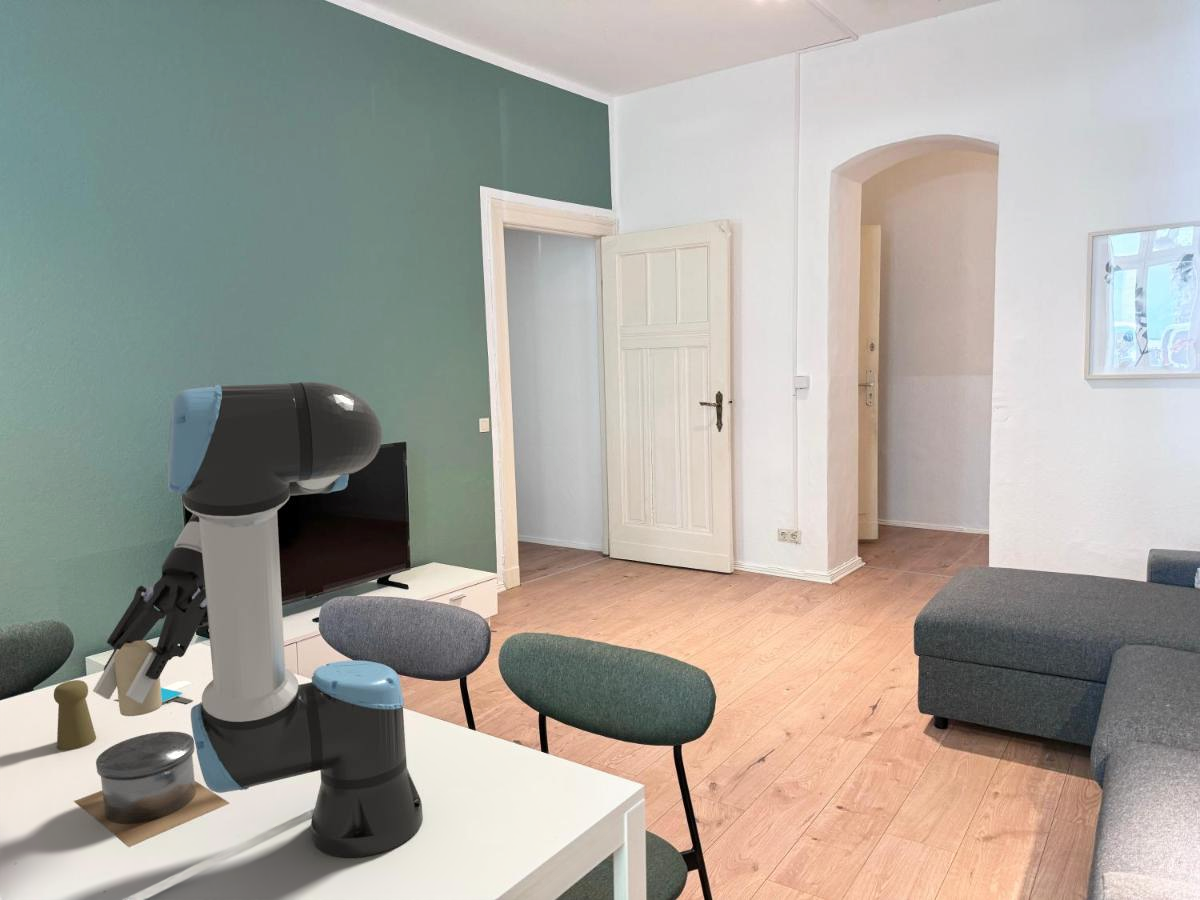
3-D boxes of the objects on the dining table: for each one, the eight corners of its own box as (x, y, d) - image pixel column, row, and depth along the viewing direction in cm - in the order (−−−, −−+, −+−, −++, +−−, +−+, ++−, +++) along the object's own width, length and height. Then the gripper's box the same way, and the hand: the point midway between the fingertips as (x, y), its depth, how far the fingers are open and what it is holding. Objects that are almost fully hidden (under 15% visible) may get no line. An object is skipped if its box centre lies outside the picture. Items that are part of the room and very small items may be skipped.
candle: (144, 717, 123) (137, 649, 122) (111, 716, 125) (103, 648, 123) (170, 702, 129) (164, 637, 128) (138, 700, 130) (131, 636, 129)
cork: (67, 753, 149) (60, 692, 148) (49, 745, 152) (42, 685, 151) (103, 739, 154) (96, 679, 153) (85, 732, 157) (78, 674, 156)
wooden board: (230, 812, 127) (229, 802, 127) (130, 857, 117) (129, 846, 116) (170, 773, 140) (169, 764, 140) (75, 810, 129) (74, 800, 129)
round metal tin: (214, 797, 129) (209, 746, 128) (123, 835, 119) (117, 780, 118) (175, 772, 137) (171, 724, 136) (87, 806, 127) (81, 755, 126)
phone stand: (219, 692, 175) (219, 684, 175) (166, 715, 165) (165, 707, 164) (156, 678, 184) (155, 670, 184) (102, 698, 174) (101, 691, 174)
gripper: (256, 572, 136) (184, 714, 122) (166, 567, 142) (88, 701, 129) (228, 546, 130) (149, 692, 117) (136, 542, 137) (50, 680, 123)
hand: (117, 696), depth 123 cm, fingers closed on candle, 5 cm apart
